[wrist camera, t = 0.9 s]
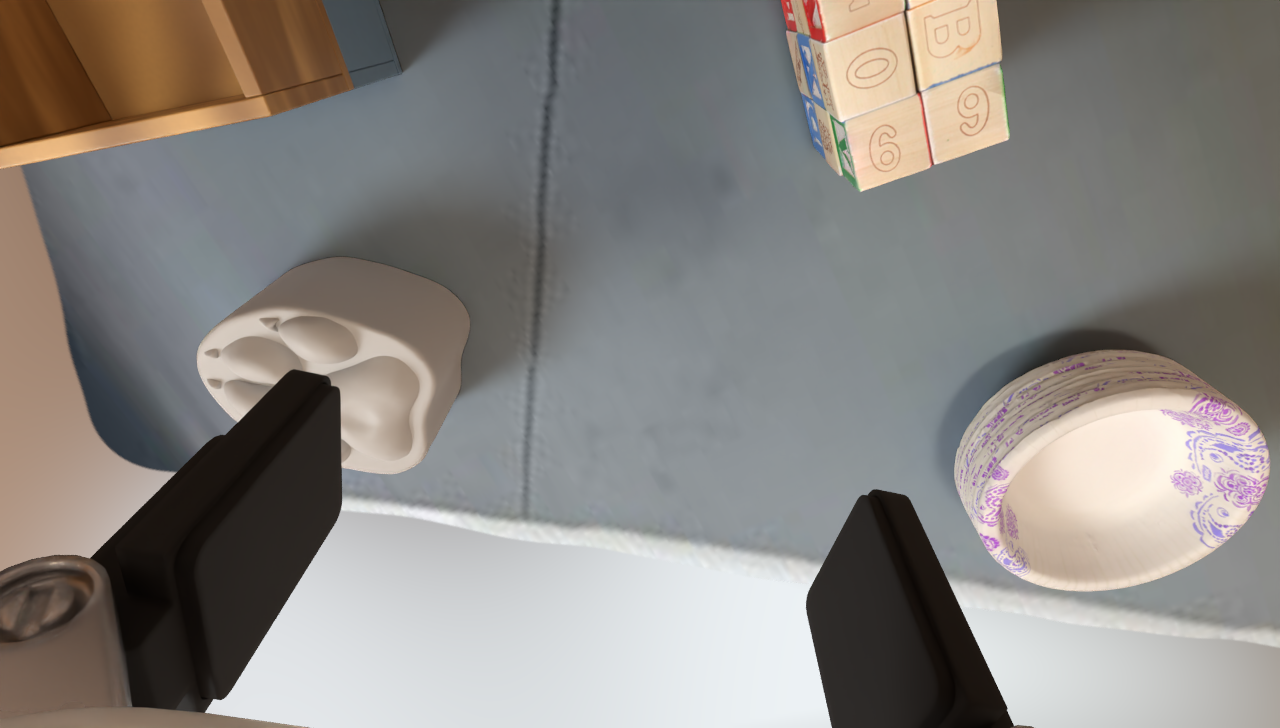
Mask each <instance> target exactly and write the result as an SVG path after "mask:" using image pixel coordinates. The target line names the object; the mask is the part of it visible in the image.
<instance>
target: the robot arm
mask: <svg viewBox="0 0 1280 728" xmlns="http://www.w3.org/2000/svg"><path fill="white" fill-rule="evenodd" d="M341 505H342V463H341V394H340V389H339V388H338V387H336V386H331V380H330V378H329V377H328V376H325V375H320V374H315V373H311V372H306V371H301V370H296V369H293V370H290V371H289V372H287V373H286V374H285V375H284V376H283V377H282V378H281V379H280V380H279V381H278V382H277V383H276V384H275V385H274V386H273V387H272V388H271V389H270V390H269V391H268V392H267V393H266V394H265V395H264V396H263V397H262V398H261V399H260V401H259V402H258V403H257V404H256V405H255V406H254V407H253V408H252V409H251V410H250V411H249V412H248V413H247V414H246V415H245V416H244V417H243V418H242V419H241V420H240V421H239V422H238V423H237V424H236V425H235V426H234V427H233V428H232V429H231V430H230V431H229V432H228V433H227V434H226V435H220V436H216V437H214V438H213V439H211V440H210V441H209V442H207V443H206V444H205V445H204V446H203V447H202V448H201V449H200V450H199V451H198V452H197V453H196V454H195V455H194V456H193V457H192V458H191V459H190V460H189V461H188V462H187V463H186V464H185V465H184V466H183V467H182V468H181V469H180V470H179V471H178V472H177V473H176V474H175V475H174V476H173V477H172V478H171V479H170V480H169V481H168V482H167V483H166V484H165V485H164V486H163V487H162V488H161V489H160V490H159V491H158V492H157V493H156V494H155V495H154V496H153V497H152V498H151V499H149V501H148V502H147V503H146V504H144V506H142V507H141V508H140V509H139V510H138V511H137V512H136V513H135V514H134V515H133V516H132V517H131V518H130V519H129V520H128V521H127V522H126V523H125V524H124V525H123V526H122V527H121V528H120V529H119V530H118V531H117V532H116V533H115V534H114V535H113V536H112V537H111V538H110V539H109V540H108V541H107V542H106V543H105V544H104V545H103V546H102V547H101V548H100V549H99V550H98V551H97V552H96V553H95V554H94V555H93V556H92V557H91V558H90V559H89V558H85V557H81V556H78V555H54V556H48V557H42V558H36V559H31V560H28V561H26V562H23V563H20V564H17V565H14V566H11V567H8V568H6V569H4V570H3V571H1V572H0V728H308V727H301V726H293V725H287V724H280V723H273V722H265V721H259V720H251V719H244V718H237V717H230V716H223V715H216V714H209V713H205V711H206V710H207V708H208V707H209V705H210V704H211V702H212V700H213V699H217V700H222V699H224V698H225V697H226V696H227V695H228V694H229V692H230V691H231V690H232V688H233V686H234V685H235V683H236V682H237V680H238V678H239V677H240V675H241V674H242V672H243V671H244V669H245V667H246V666H247V664H248V662H249V661H250V659H251V657H252V656H253V654H254V653H255V651H256V650H257V648H258V646H259V645H260V643H261V641H262V640H263V638H264V637H265V635H266V634H267V632H268V630H269V629H270V627H271V626H272V624H273V622H274V621H275V619H276V617H277V616H278V614H279V613H280V611H281V609H282V608H283V606H284V605H285V603H286V601H287V600H288V598H289V597H290V595H291V593H292V592H293V590H294V589H295V587H296V585H297V584H298V582H299V581H300V579H301V577H302V576H303V574H304V572H305V571H306V569H307V568H308V566H309V564H310V563H311V561H312V560H313V558H314V556H315V555H316V553H317V552H318V550H319V548H320V547H321V545H322V544H323V542H324V540H325V539H326V537H327V536H328V534H329V532H330V530H331V529H332V528H333V526H334V524H335V523H336V521H337V518H338V516H339V513H340V510H341ZM806 610H807V616H808V620H809V625H810V629H811V634H812V639H813V643H814V647H815V652H816V657H817V661H818V666H819V670H820V675H821V680H822V684H823V689H824V693H825V698H826V703H827V707H828V712H829V716H830V721H831V725H832V728H1034V727H1031V726H1020V725H1017V726H1014V725H1013V723H1012V721H1011V719H1010V716H1009V714H1008V712H1007V706H1006V704H1005V702H1004V700H1003V698H1002V695H1001V693H1000V691H999V689H998V687H997V685H996V683H995V681H994V678H993V676H992V674H991V672H990V670H989V668H988V666H987V663H986V661H985V659H984V657H983V655H982V653H981V651H980V648H979V646H978V644H977V642H976V640H975V638H974V636H973V634H972V631H971V629H970V627H969V625H968V623H967V621H966V618H965V616H964V614H963V612H962V610H961V608H960V606H959V604H958V601H957V599H956V597H955V595H954V593H953V591H952V589H951V586H950V584H949V582H948V580H947V578H946V576H945V574H944V571H943V569H942V567H941V565H940V563H939V561H938V559H937V557H936V554H935V552H934V550H933V548H932V546H931V544H930V542H929V539H928V537H927V535H926V533H925V531H924V529H923V527H922V524H921V522H920V520H919V518H918V516H917V514H916V512H915V510H914V507H913V505H912V503H911V501H910V500H909V498H908V497H907V496H905V495H901V494H897V493H892V492H887V491H882V490H877V489H876V490H872V491H871V492H870V493H869V494H868V496H867V495H862V496H860V497H859V498H858V500H857V502H856V503H855V505H854V507H853V509H852V511H851V513H850V515H849V517H848V518H847V520H846V522H845V524H844V526H843V528H842V530H841V532H840V533H839V535H838V537H837V539H836V541H835V543H834V545H833V547H832V548H831V550H830V552H829V554H828V556H827V558H826V560H825V562H824V563H823V565H822V567H821V569H820V571H819V573H818V575H817V576H816V578H815V580H814V582H813V584H812V586H811V588H810V590H809V592H808V595H807V601H806Z"/></svg>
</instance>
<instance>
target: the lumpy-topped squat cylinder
mask: <svg viewBox="0 0 1280 728" xmlns="http://www.w3.org/2000/svg"><path fill="white" fill-rule="evenodd" d="M469 332H470V318H469V315H468V312H467V310H466V308H465V307H464V305H463V304H462V303H461V301H460V300H459V299H458V298H457V297H456V296H455V295H454V294H453V293H452V292H450V291H449V290H448V289H446V288H445V287H443V286H442V285H440V284H438V283H436V282H434V281H431V280H429V279H426V278H424V277H421V276H418V275H415V274H412V273H410V272H407V271H404V270H401V269H398V268H395V267H391V266H387V265H384V264H380V263H376V262H371V261H367V260H362V259H357V258H350V257H331V258H326V259H321V260H317V261H313V262H309V263H306V264H303V265H300V266H297V267H295V268H293V269H291V270H289V271H288V272H286V273H285V274H284V275H282V276H281V277H280V278H278V279H277V280H276V281H274V282H273V283H272V284H270V285H269V286H268V287H266V288H265V289H264V290H262V291H261V292H260V293H258V294H257V295H255V296H254V297H253V298H251V299H250V300H249V301H247V302H246V303H245V304H243V305H242V306H241V307H239V308H238V309H237V310H235V311H234V312H233V313H232V314H230V315H229V316H228V317H226V318H225V319H224V320H222V321H221V322H220V323H219V324H217V325H216V326H215V327H214V328H213V329H212V330H211V331H210V332H209V333H208V334H207V335H206V337H205V338H204V339H203V341H202V342H201V344H200V346H199V348H198V352H197V365H198V370H199V373H200V376H201V378H202V380H203V382H204V384H205V386H206V387H207V389H208V390H209V392H210V393H211V395H212V396H213V397H214V399H215V400H216V401H217V402H218V403H219V404H220V406H221V407H222V408H223V409H224V410H225V411H226V412H227V413H228V414H229V415H230V416H231V417H232V418H233V419H234V420H235V421H237V422H239V421H240V420H241V419H242V418H243V417H244V416H245V415H246V414H247V413H248V412H249V411H250V410H251V409H252V408H253V407H254V406H255V405H256V404H257V403H258V402H259V401H260V399H261V398H262V397H263V396H264V395H265V394H266V393H267V392H268V391H269V390H270V389H271V388H272V387H273V386H274V385H275V384H276V383H277V382H278V381H279V380H280V379H281V378H282V377H283V376H284V375H285V374H286V373H287V372H289V371H290V370H293V369H296V370H301V371H306V372H311V373H315V374H320V375H325V376H328V377H329V378H330V380H331V386H336V387H338V388H339V389H340V394H341V463H342V468H347V469H354V470H359V471H364V472H371V473H380V474H396V473H400V472H403V471H406V470H408V469H410V468H412V467H414V466H416V465H417V464H419V463H420V462H421V461H422V460H423V459H424V457H425V456H426V454H427V452H428V450H429V448H430V446H431V444H432V442H433V441H434V439H435V437H436V435H437V433H438V431H439V430H440V428H441V426H442V424H443V422H444V420H445V418H446V416H447V414H448V412H449V410H450V408H451V406H452V404H453V403H454V401H455V399H456V397H457V395H458V393H459V391H460V387H461V358H462V353H463V350H464V347H465V344H466V342H467V339H468V336H469Z"/></svg>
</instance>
